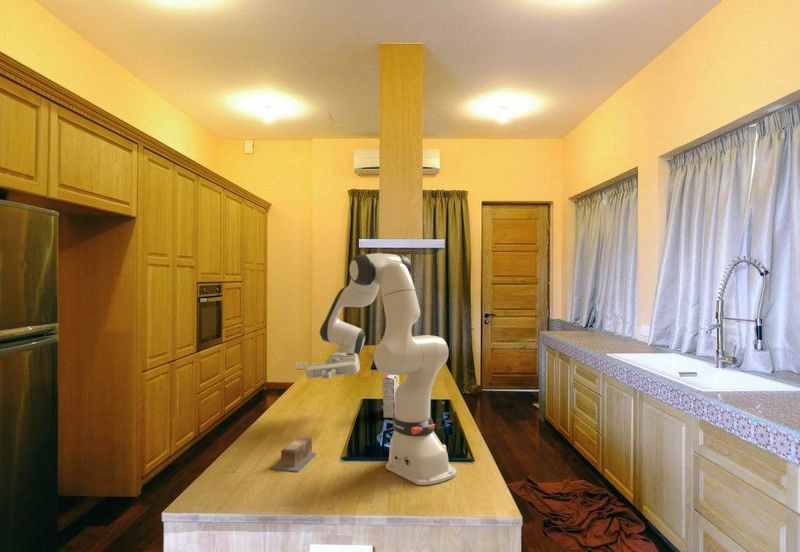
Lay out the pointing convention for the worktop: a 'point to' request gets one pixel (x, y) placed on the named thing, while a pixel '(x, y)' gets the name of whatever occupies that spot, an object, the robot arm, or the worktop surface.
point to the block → (296, 451)
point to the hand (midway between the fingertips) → (325, 376)
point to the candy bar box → (389, 395)
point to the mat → (297, 467)
